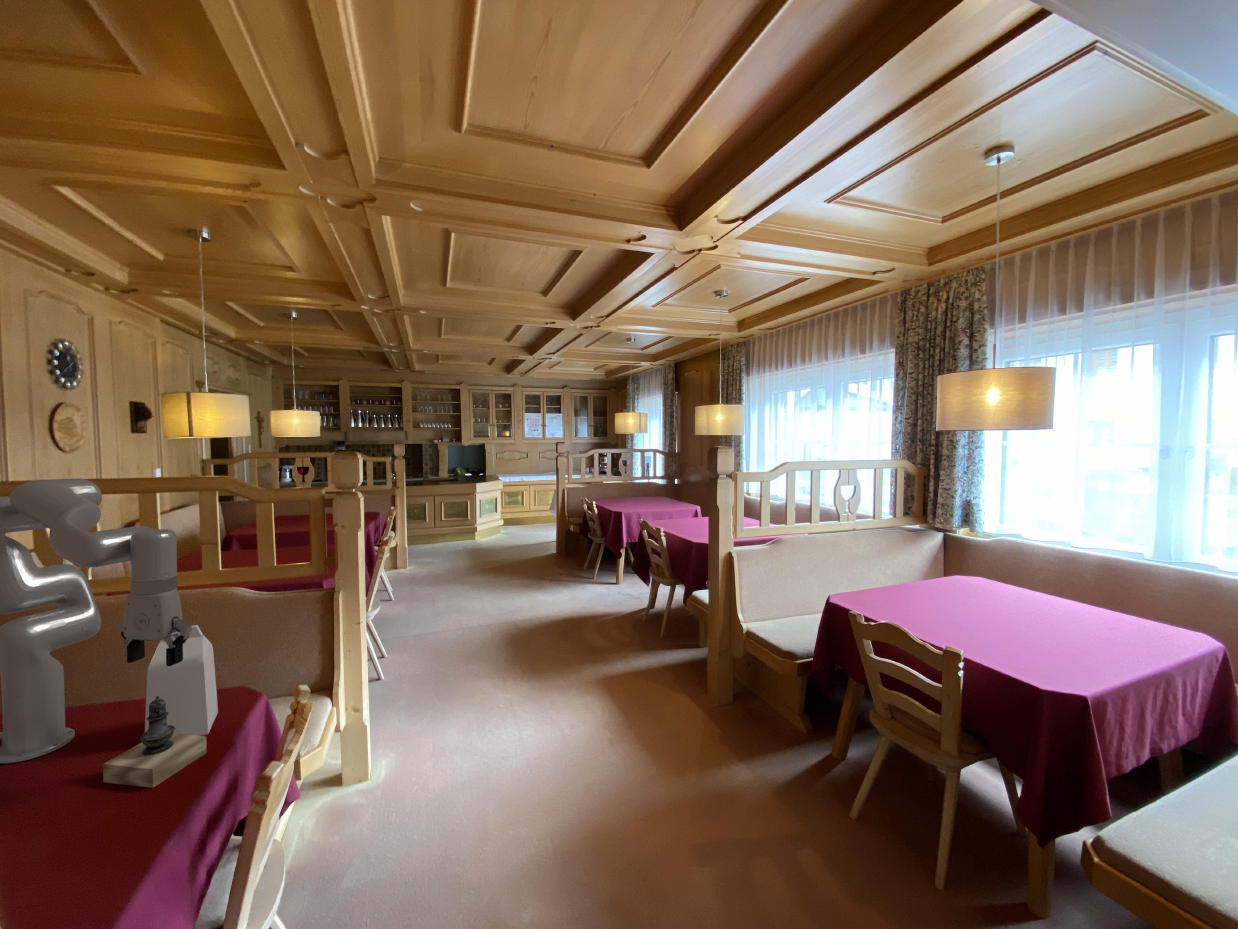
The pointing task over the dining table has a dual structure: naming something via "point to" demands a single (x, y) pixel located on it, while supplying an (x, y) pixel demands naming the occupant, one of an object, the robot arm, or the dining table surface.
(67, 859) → the dining table surface
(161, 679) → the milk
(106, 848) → the dining table surface
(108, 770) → the beech block
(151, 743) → the black chess piece
